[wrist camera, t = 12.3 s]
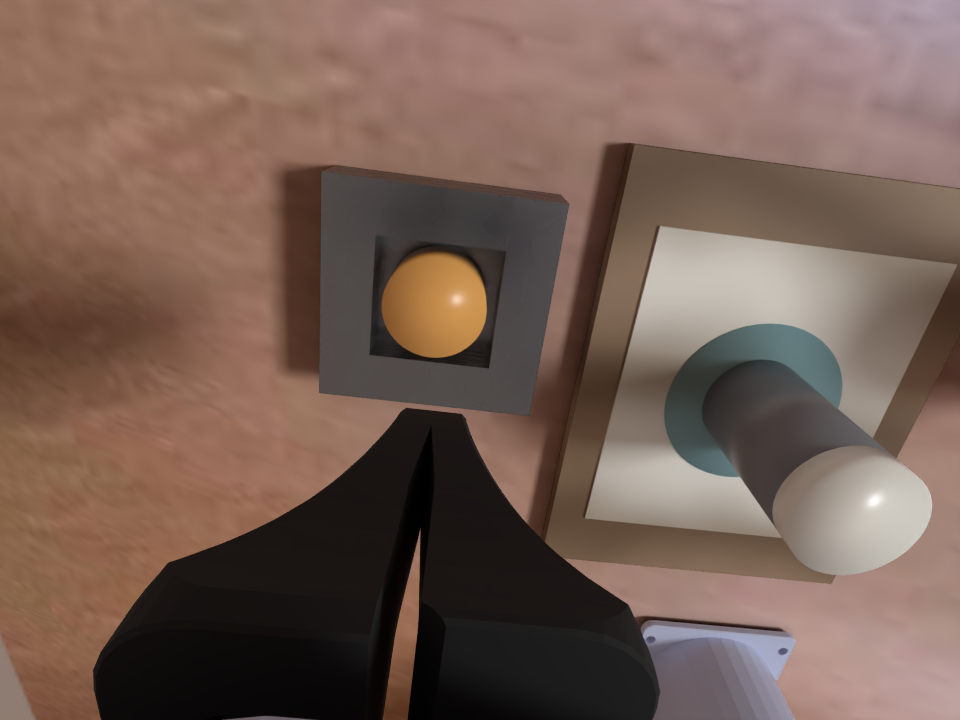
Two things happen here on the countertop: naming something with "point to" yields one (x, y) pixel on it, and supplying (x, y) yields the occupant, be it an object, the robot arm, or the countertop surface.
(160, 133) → the countertop surface
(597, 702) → the robot arm
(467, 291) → the button
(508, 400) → the button housing
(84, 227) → the countertop surface
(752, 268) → the picture frame
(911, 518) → the grey domed cylinder
